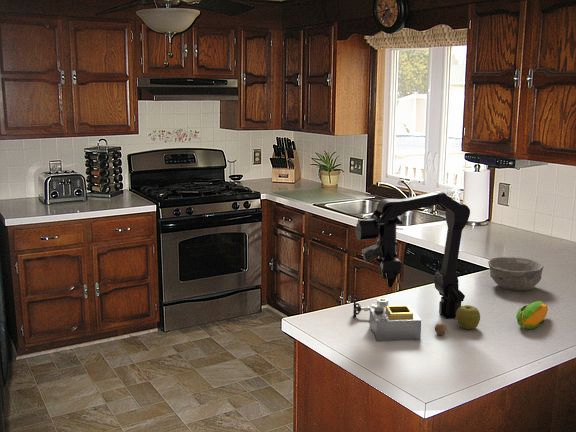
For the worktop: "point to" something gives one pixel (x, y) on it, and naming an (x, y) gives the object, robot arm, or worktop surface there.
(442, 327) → the bead
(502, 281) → the bowl
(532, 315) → the corn
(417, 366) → the worktop surface
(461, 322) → the apple
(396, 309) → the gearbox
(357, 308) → the valve
